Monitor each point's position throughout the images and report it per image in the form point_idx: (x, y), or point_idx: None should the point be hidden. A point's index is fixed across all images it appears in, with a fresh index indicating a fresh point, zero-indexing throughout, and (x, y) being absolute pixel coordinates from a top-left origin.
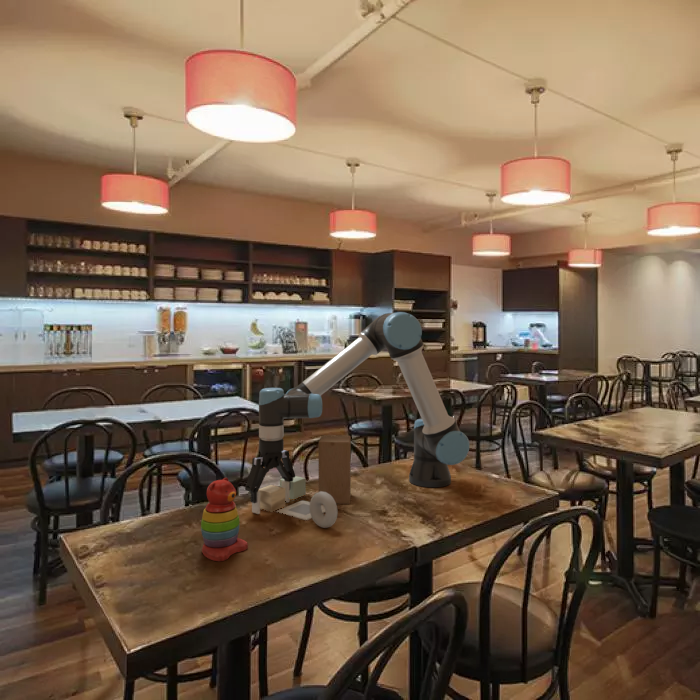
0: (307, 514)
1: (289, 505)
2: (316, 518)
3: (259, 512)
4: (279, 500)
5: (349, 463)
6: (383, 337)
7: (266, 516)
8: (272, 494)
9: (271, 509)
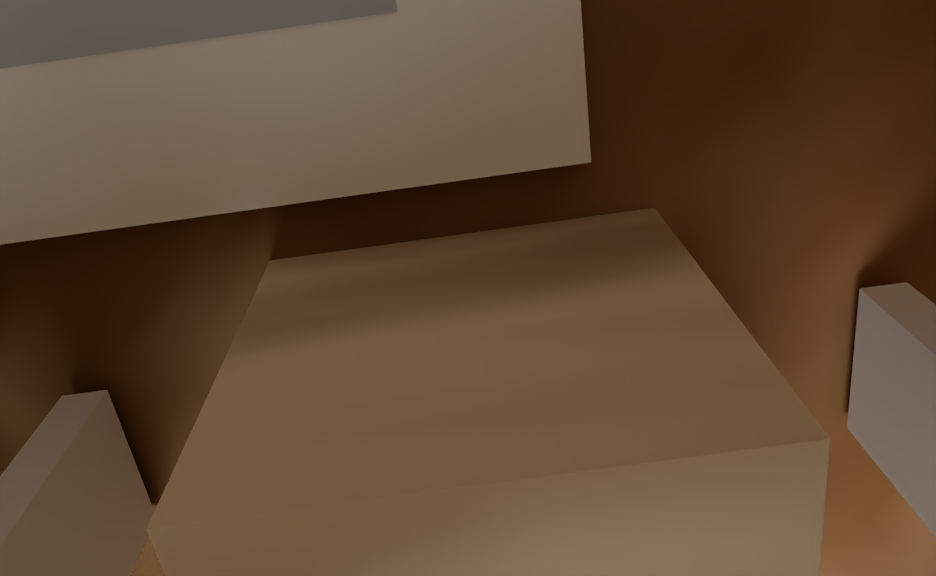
0: None
1: (195, 214)
2: None
3: (886, 295)
4: (438, 320)
5: None
6: None
7: (883, 101)
8: (770, 409)
9: (670, 235)
